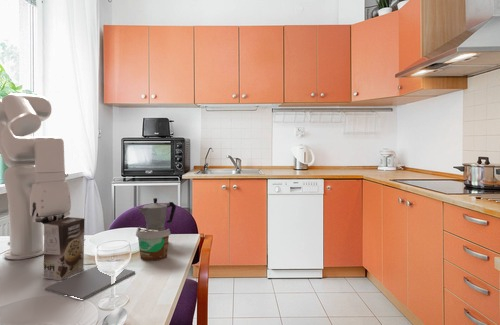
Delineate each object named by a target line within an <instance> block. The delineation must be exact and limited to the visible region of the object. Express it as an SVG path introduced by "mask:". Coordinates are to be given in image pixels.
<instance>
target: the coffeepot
mask: <svg viewBox="0 0 500 325" xmlns="http://www.w3.org/2000/svg"><path fill="white" fill-rule="evenodd" d="M168 208H171V210H170V214H169V219H168V220H166V219H167V211H168ZM176 209H177V206H176V204H175V203H174V202H172V201H170V202H163V203H162V202H158V198H156V197H154V198H153V202H151V203H148V204H145V205H143V206H140V207H139V208H138V211H139V212H141V213H142V215H143V216H144V219H145V224H146V229H145V230H150V229H156V230H160V231H164V230H166V227H165V226H166V225H165V223H167V224H169V223H172V222H173V220H174V219H173V218H174V215H175V212H176Z"/></svg>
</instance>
